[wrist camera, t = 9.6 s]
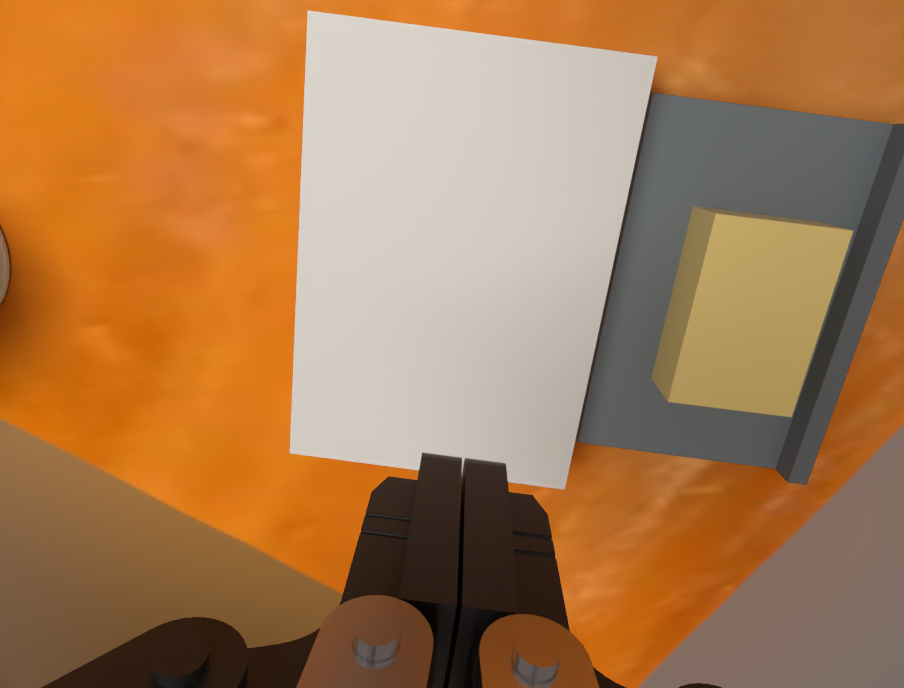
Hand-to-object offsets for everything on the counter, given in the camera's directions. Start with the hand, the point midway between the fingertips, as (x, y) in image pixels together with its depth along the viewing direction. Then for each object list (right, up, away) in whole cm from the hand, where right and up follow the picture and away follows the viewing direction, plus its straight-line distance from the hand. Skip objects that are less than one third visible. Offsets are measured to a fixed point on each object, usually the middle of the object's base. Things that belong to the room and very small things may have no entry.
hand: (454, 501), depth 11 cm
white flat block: (0, +7, +20) cm, 21 cm away
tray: (+14, +5, +20) cm, 25 cm away
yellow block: (+14, +4, +18) cm, 23 cm away
